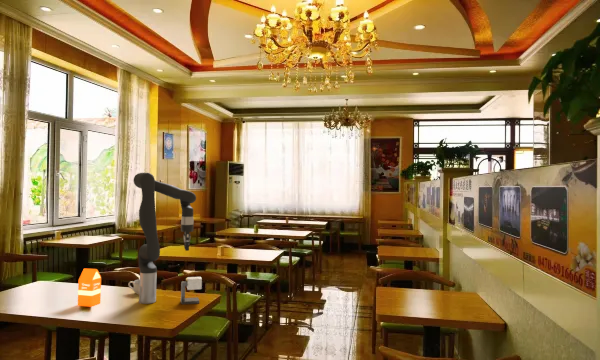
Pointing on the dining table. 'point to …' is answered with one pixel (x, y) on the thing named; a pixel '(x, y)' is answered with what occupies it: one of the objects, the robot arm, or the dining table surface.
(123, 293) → the dining table surface
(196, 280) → the white rounded block
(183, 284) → the stand
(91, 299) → the orange juice
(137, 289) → the teacup
